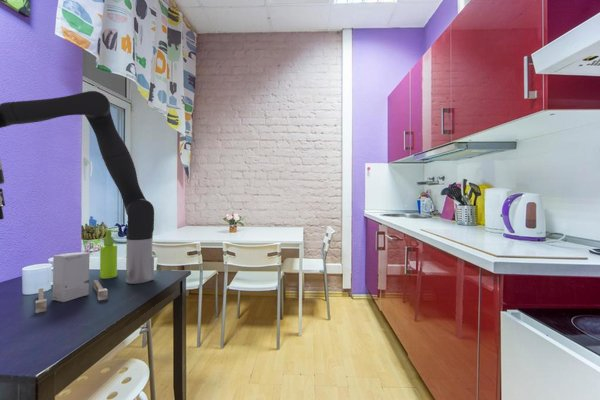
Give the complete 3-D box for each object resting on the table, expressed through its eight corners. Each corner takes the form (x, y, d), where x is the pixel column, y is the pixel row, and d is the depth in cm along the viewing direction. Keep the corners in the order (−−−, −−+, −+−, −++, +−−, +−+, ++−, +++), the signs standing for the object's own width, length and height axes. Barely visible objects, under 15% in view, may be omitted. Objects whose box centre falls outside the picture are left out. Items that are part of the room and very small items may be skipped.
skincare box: (62, 302, 91) (62, 256, 90) (51, 300, 93) (51, 255, 93) (90, 294, 98) (90, 252, 98) (79, 292, 101) (79, 250, 100)
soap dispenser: (113, 278, 117) (113, 230, 117) (96, 278, 117) (97, 230, 117) (122, 274, 123) (122, 228, 122) (106, 274, 123) (106, 228, 122)
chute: (99, 286, 107) (99, 278, 107) (107, 298, 95) (107, 290, 94) (36, 296, 96) (36, 287, 95) (35, 313, 83) (35, 303, 83)
